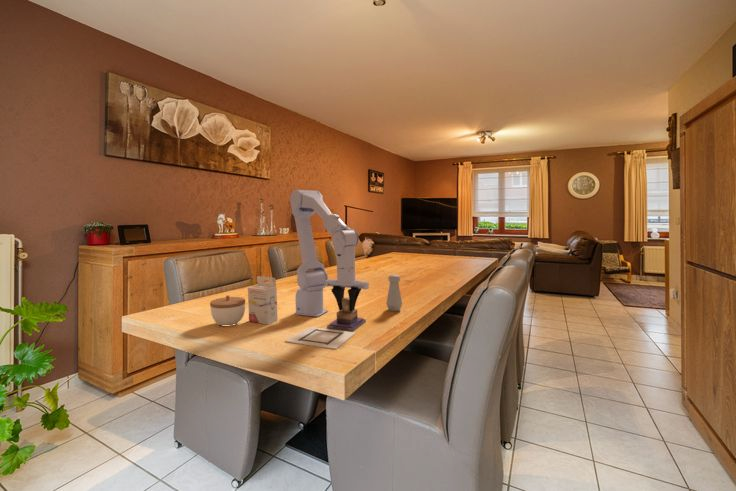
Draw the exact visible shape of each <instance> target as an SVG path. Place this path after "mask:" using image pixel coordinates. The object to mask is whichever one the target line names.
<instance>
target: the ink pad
mask: <svg viewBox="0 0 736 491" xmlns="http://www.w3.org/2000/svg"><path fill="white" fill-rule="evenodd" d="M366 322H367V321H366V319H365V318H363V317H358V319H356V320H355V321H354V322H353V323H342V322H337V318H336V319H334V320H333V321H331V322H330V323H329V324H327V325H326V329H331V330H339V331H347V332H355V331H356V330H357V329H359V328H360V327H361V326H362V325H364V324H365V323H366Z"/></svg>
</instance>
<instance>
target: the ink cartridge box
mask: <svg viewBox="0 0 736 491" xmlns="http://www.w3.org/2000/svg"><path fill="white" fill-rule="evenodd" d="M256 280H257V284H255V285H252V286H248V287H247V299H248V301H247V302H248V303H247V304H248V306H247V307H248V322H249V321H252V322H251V323H255V322H257V324H261V323H262V325H267V324H268V325H271V324H272V323H275V322H277V321H278V295H277V292H278V290H277V289H278V287H277V283H276V282H277V280H276V278H275V277H269V276H256ZM268 325H267V326H268Z"/></svg>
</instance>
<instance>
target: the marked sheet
mask: <svg viewBox="0 0 736 491" xmlns="http://www.w3.org/2000/svg"><path fill="white" fill-rule="evenodd" d="M356 334H357V332H355V331H346V330H338V329H330V328H322V327H315V326H308V327H306V328H305V329H303V330H301V331H299V332H297V333H296V334H295V335H292V336H290V337H289V338H287V339H285V340H284V342H285V343H290V344H292V343H293V344H296V345H304V346H305V345H306V346H312V347H318V348H324V349H331V350H337V349H339V348H340V347H341V346H342V345H344V344H345V343H346V342H347V341H349V340H350V339H351V338H352V337H353V336H355V335H356Z"/></svg>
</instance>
